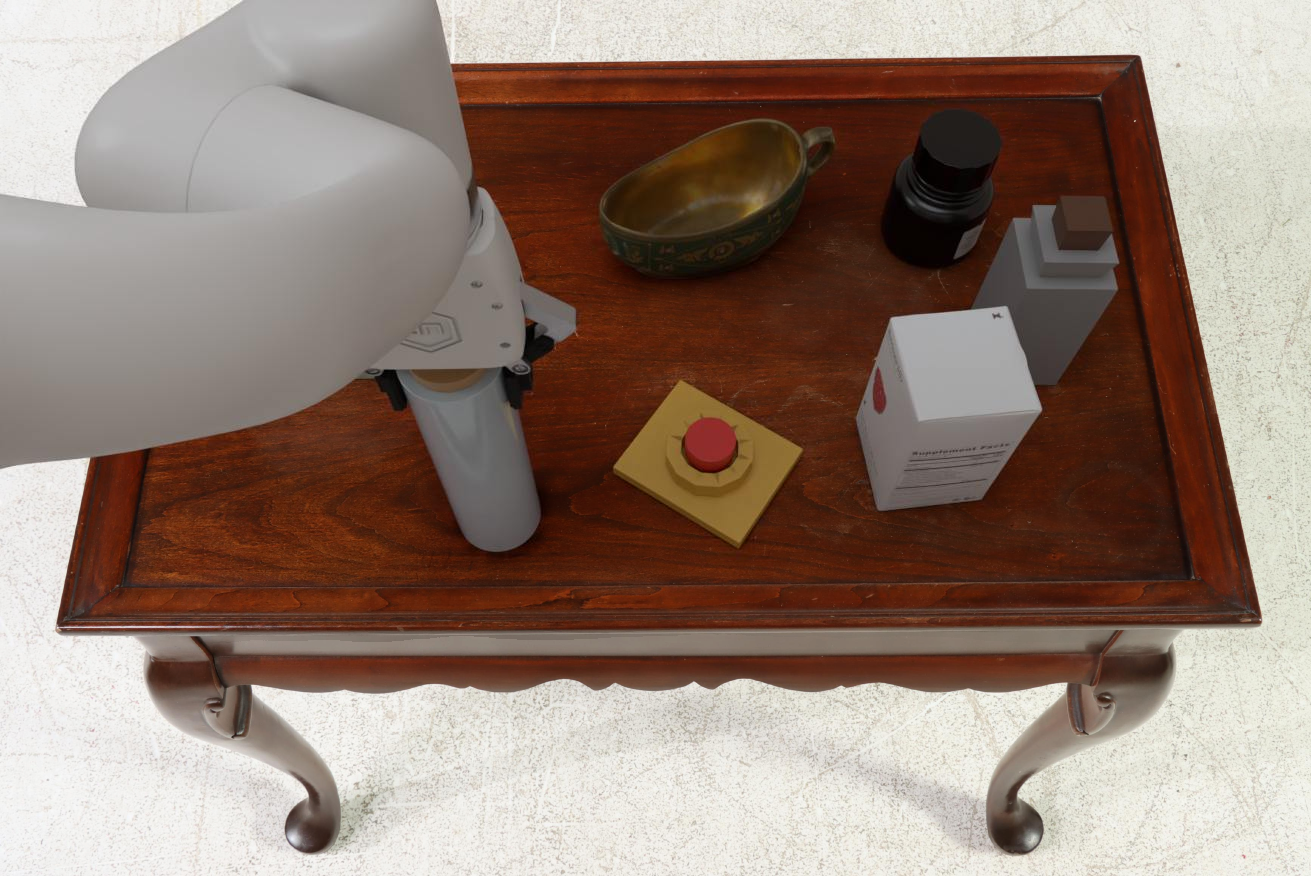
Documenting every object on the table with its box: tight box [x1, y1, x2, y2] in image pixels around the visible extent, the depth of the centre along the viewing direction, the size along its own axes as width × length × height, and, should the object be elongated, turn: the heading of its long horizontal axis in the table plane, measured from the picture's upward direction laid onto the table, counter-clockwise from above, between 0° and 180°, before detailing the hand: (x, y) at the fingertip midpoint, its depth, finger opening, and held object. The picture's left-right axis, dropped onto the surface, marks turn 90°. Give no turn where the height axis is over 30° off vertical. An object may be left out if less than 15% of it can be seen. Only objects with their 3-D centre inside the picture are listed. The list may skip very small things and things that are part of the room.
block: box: [612, 379, 804, 549], centre depth 83 cm, size 10×12×3 cm
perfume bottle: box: [970, 195, 1120, 386], centre depth 82 cm, size 7×7×18 cm
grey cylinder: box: [396, 366, 542, 553], centre depth 72 cm, size 7×7×24 cm
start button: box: [685, 417, 736, 472], centre depth 81 cm, size 4×4×2 cm
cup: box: [598, 117, 836, 280], centre depth 91 cm, size 13×20×10 cm, turn 86°
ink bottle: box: [880, 108, 1003, 267], centre depth 91 cm, size 10×9×12 cm
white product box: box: [855, 306, 1043, 512], centre depth 78 cm, size 9×9×15 cm
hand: (460, 389), depth 65 cm, fingers closed on grey cylinder, 6 cm apart
